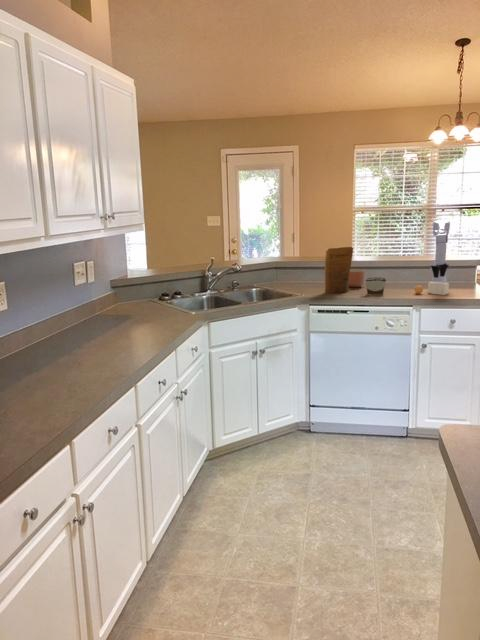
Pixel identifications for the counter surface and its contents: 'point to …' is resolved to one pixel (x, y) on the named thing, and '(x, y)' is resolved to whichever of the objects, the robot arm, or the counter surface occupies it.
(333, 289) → the pancake mix bag
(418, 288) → the ball
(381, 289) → the food container
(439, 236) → the robot arm
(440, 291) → the cream white block
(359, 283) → the planter
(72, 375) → the counter surface
